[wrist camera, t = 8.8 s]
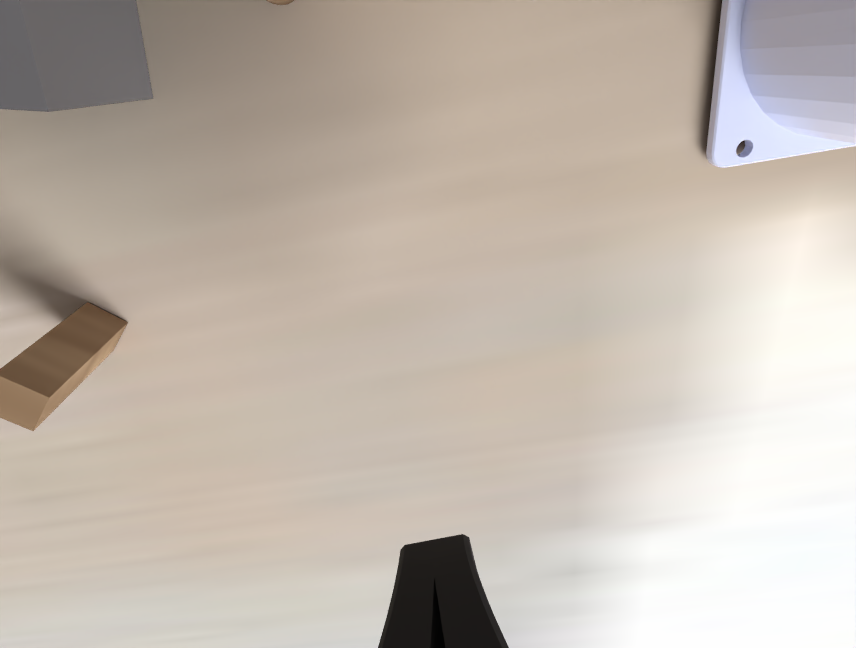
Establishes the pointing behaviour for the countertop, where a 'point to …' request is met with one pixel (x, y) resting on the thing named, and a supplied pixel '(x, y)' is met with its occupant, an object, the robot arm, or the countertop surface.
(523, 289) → the countertop surface
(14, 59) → the grey faceted block
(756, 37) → the robot arm
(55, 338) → the tan small pieces
